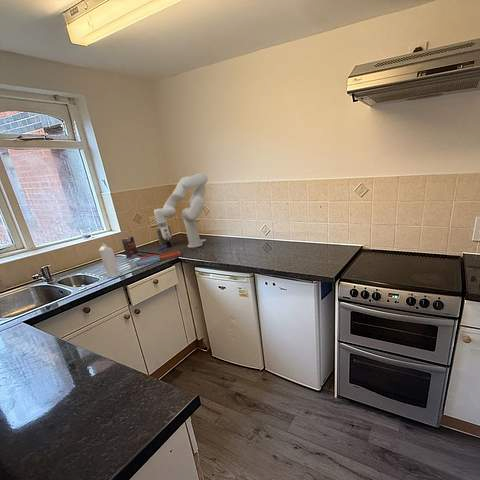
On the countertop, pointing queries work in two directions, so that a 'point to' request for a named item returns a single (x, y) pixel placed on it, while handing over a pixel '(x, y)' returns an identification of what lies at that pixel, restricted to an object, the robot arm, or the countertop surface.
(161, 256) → the terracotta tray
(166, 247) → the blue spoon
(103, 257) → the milk
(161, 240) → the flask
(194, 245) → the robot arm
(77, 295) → the countertop surface
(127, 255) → the supplement box
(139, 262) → the pale blue tray
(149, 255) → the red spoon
